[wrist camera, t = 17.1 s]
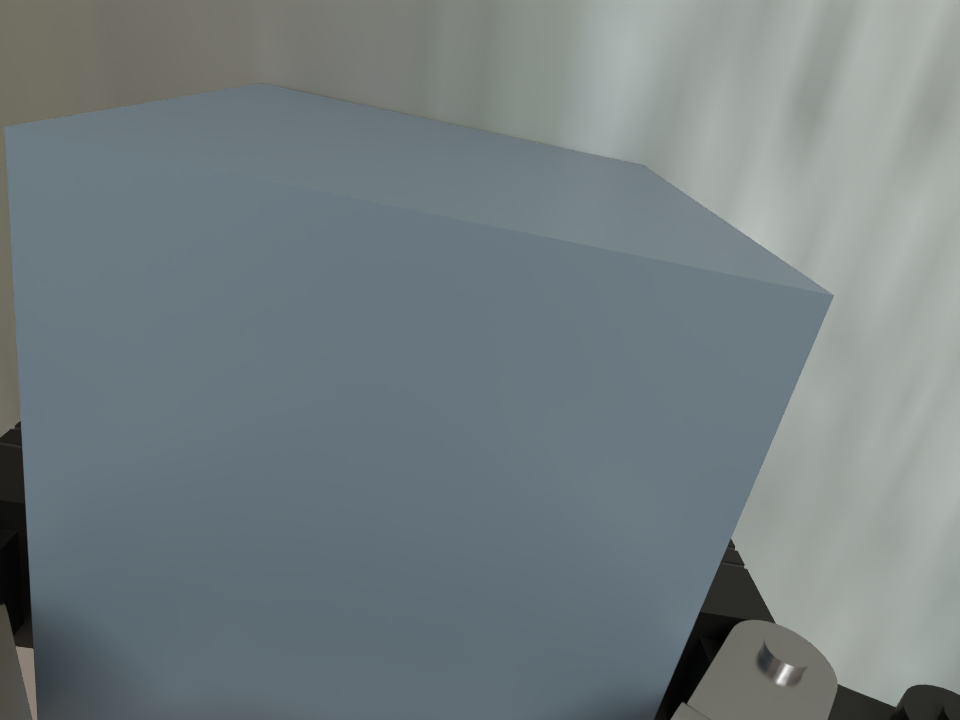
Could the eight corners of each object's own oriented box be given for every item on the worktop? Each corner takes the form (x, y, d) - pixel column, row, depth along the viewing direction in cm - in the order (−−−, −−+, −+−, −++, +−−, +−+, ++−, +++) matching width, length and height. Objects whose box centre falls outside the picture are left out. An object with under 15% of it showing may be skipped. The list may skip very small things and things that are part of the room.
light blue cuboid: (222, 577, 16) (50, 942, 10) (261, 83, 12) (5, 126, 5) (511, 621, 17) (537, 994, 10) (644, 165, 13) (834, 295, 6)
